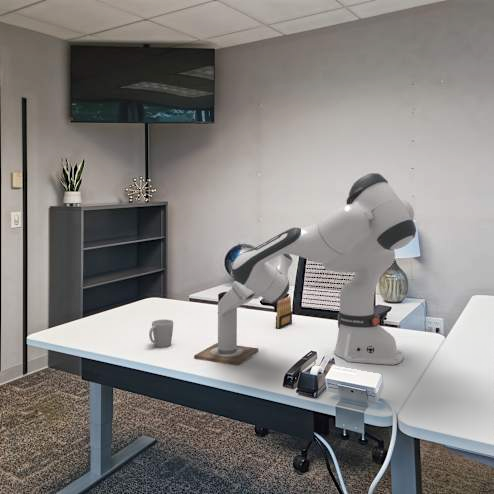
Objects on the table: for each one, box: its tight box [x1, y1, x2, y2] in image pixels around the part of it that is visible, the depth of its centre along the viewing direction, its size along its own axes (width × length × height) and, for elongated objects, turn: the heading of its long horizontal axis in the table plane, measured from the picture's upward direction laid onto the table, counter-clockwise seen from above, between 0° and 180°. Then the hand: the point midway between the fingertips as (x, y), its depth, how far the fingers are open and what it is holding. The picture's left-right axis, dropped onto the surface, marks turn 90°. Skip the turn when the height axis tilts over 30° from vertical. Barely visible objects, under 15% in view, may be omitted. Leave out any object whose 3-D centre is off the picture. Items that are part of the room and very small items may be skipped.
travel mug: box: [217, 291, 238, 354], centre depth 164 cm, size 6×7×20 cm
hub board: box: [193, 342, 259, 366], centre depth 165 cm, size 16×16×1 cm
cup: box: [148, 319, 174, 348], centre depth 175 cm, size 8×10×8 cm
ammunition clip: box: [275, 295, 293, 330], centre depth 203 cm, size 11×2×12 cm, turn 146°
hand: (225, 312), depth 164 cm, fingers open, 6 cm apart
